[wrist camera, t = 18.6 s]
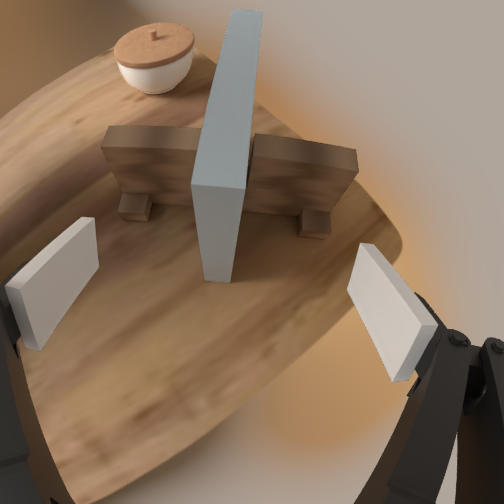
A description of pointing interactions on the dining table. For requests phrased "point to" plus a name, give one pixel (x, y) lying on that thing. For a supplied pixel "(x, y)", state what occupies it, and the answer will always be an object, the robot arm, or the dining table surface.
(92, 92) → the dining table surface
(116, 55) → the lidded jar
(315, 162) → the walnut board
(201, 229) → the slotted plate
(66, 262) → the robot arm
